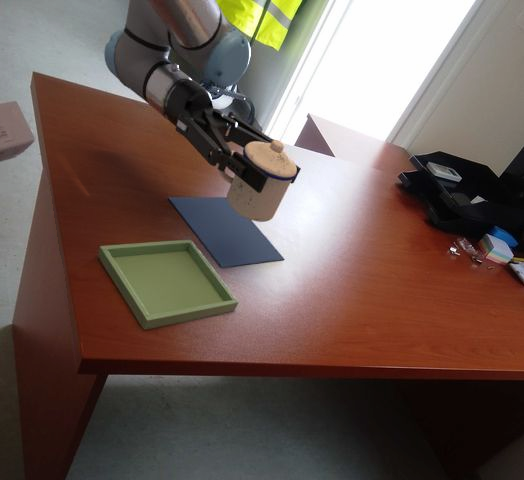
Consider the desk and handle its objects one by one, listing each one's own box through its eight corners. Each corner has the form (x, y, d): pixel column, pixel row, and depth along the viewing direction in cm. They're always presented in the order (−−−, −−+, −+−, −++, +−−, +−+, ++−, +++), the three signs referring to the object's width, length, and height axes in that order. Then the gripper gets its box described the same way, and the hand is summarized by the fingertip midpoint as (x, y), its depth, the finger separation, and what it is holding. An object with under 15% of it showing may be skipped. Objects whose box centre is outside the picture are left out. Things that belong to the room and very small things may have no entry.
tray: (97, 256, 70) (99, 245, 69) (187, 248, 81) (191, 239, 79) (144, 330, 64) (147, 320, 63) (234, 310, 75) (239, 302, 74)
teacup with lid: (277, 205, 81) (308, 145, 73) (270, 231, 75) (302, 168, 67) (215, 175, 79) (239, 109, 71) (202, 198, 73) (227, 130, 65)
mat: (167, 198, 88) (168, 197, 88) (231, 198, 99) (231, 197, 99) (221, 268, 81) (221, 267, 81) (284, 260, 91) (284, 259, 91)
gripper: (136, 75, 65) (250, 167, 61) (228, 79, 81) (323, 151, 77) (125, 125, 70) (230, 213, 66) (214, 119, 86) (303, 190, 82)
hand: (280, 180), depth 72 cm, fingers closed on teacup with lid, 9 cm apart
